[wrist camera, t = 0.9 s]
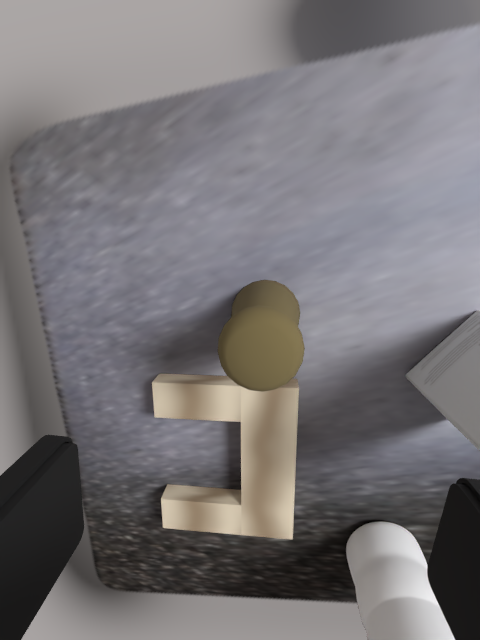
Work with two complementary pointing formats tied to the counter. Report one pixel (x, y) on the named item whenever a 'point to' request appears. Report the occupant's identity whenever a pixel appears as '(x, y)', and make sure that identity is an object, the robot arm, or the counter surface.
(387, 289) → the counter surface
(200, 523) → the wooden u-shaped block
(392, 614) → the water bottle
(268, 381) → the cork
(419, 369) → the skincare box
